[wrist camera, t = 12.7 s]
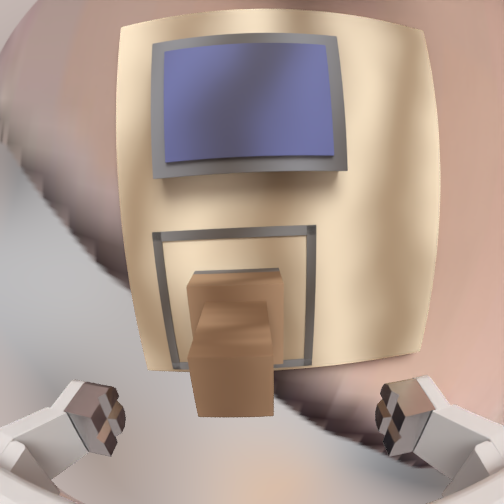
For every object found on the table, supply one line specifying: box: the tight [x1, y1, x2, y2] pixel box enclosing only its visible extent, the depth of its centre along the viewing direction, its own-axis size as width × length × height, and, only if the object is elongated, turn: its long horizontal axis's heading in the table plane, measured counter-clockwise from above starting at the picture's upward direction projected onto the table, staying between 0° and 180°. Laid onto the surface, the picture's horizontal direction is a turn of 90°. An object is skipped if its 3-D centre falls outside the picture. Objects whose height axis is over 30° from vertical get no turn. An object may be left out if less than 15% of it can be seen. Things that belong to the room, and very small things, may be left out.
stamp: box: [186, 268, 284, 417], centre depth 13 cm, size 4×4×7 cm
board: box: [116, 9, 440, 372], centre depth 15 cm, size 18×21×3 cm
